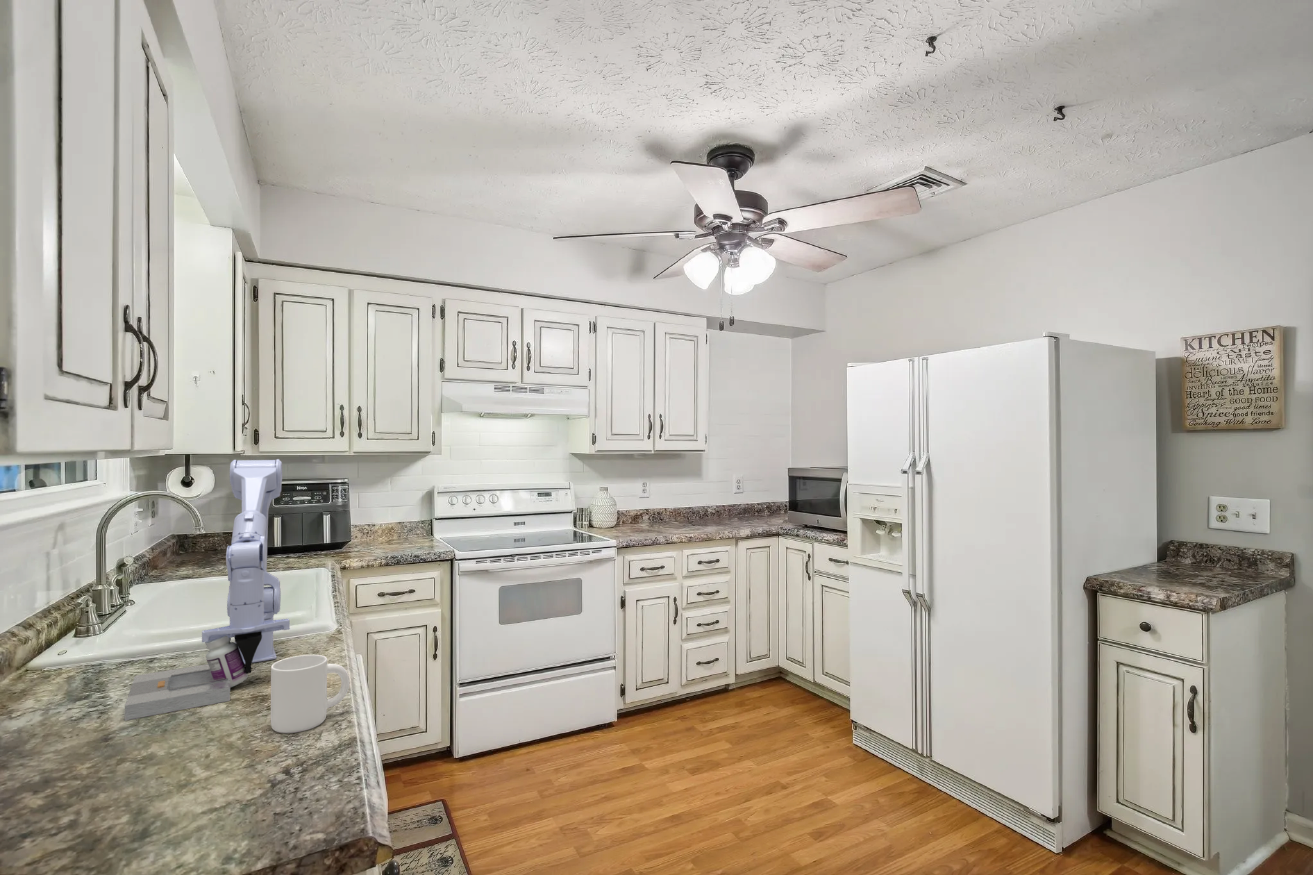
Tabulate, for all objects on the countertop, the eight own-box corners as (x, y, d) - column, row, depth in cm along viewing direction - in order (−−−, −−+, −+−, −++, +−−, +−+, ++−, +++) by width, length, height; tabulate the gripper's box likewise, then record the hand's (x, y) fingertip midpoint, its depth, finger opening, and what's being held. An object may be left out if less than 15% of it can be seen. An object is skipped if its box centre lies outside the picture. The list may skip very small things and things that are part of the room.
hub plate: (134, 688, 125) (135, 674, 125) (227, 672, 133) (228, 659, 133) (124, 720, 110) (124, 704, 110) (229, 700, 118) (230, 685, 118)
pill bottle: (247, 673, 129) (232, 629, 128) (250, 679, 125) (234, 633, 124) (216, 686, 126) (200, 641, 125) (217, 693, 122) (201, 646, 121)
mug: (343, 704, 116) (344, 647, 117) (355, 719, 110) (355, 658, 110) (267, 722, 109) (267, 660, 109) (274, 739, 103) (275, 674, 103)
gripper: (202, 611, 120) (201, 685, 119) (291, 599, 128) (291, 669, 127) (201, 605, 125) (201, 676, 124) (287, 595, 134) (287, 661, 133)
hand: (247, 672), depth 126 cm, fingers closed, pressing on pill bottle
